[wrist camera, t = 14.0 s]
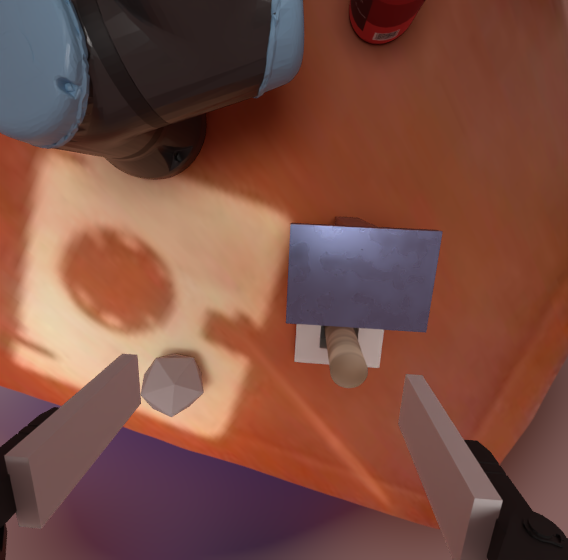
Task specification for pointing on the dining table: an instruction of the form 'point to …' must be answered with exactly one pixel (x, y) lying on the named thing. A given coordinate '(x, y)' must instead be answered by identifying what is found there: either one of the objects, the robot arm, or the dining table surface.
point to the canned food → (382, 18)
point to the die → (172, 384)
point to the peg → (345, 357)
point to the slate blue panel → (361, 275)
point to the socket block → (315, 347)
